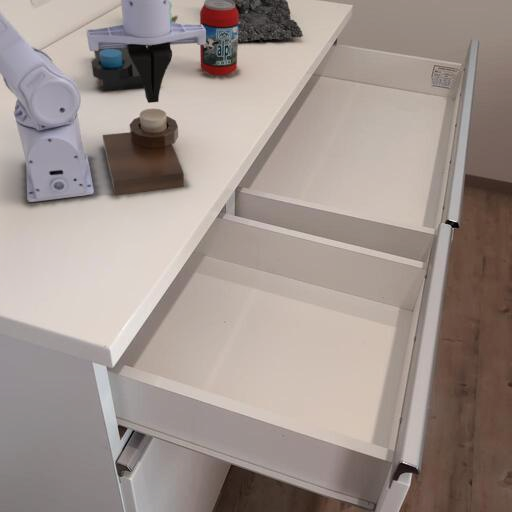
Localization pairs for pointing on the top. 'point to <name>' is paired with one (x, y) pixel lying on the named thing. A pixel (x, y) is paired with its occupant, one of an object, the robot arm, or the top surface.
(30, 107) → the robot arm
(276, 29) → the ground
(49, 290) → the top surface
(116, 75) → the far press
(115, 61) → the far button
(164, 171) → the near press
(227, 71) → the beverage can
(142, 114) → the near button
